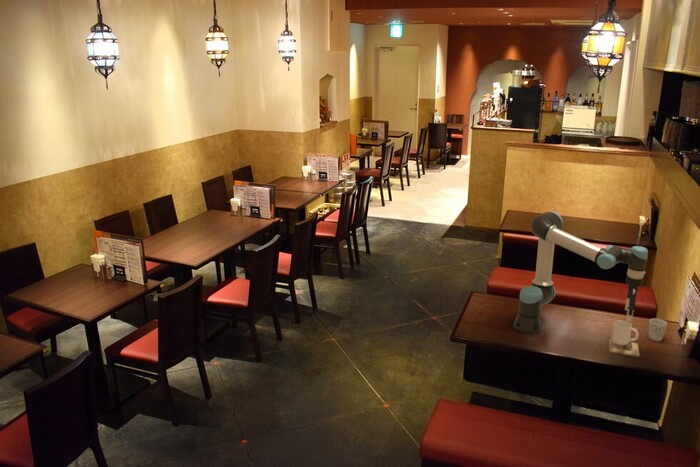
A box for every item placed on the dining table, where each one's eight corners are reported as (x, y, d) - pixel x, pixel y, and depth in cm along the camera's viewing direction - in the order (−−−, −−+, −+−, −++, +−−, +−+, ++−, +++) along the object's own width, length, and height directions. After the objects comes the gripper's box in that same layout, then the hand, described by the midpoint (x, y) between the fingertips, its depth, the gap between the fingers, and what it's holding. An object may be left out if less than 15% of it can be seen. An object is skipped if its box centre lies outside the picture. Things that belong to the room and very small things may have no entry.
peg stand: (609, 351, 290) (609, 345, 289) (608, 340, 302) (609, 334, 301) (639, 357, 285) (640, 350, 284) (637, 345, 297) (638, 339, 296)
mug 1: (637, 341, 293) (640, 323, 290) (636, 348, 286) (639, 330, 283) (612, 336, 299) (615, 318, 296) (610, 342, 292) (613, 324, 289)
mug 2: (651, 331, 312) (654, 315, 309) (668, 336, 306) (671, 320, 304) (644, 338, 305) (647, 321, 302) (661, 343, 299) (664, 326, 296)
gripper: (645, 286, 270) (637, 326, 276) (641, 270, 292) (635, 307, 298) (628, 284, 272) (621, 323, 279) (626, 267, 294) (619, 304, 301)
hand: (628, 315), depth 288 cm, fingers open, 13 cm apart
